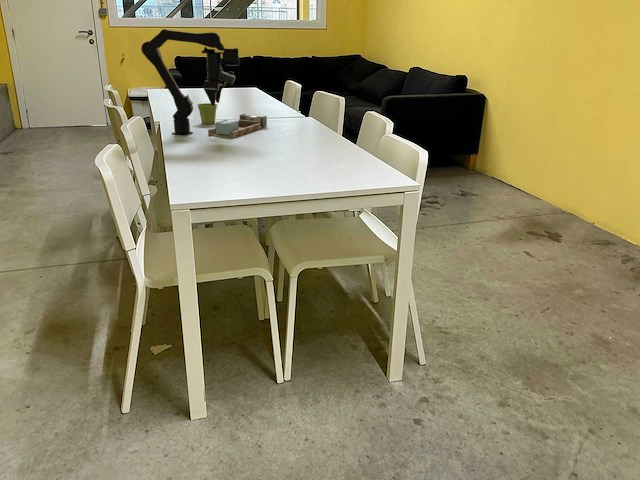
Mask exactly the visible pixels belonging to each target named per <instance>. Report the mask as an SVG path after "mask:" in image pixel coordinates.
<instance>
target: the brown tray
mask: <svg viewBox="0 0 640 480" xmlns="http://www.w3.org/2000/svg"><path fill="white" fill-rule="evenodd" d="M236 121H237V122H238V125H239V130H236V131H232V132H230V135H224V134H216V127H212V128H209V129H207V134H208V136H211V137H218V138H228V139H234V138H238V137H241V136H243V135H247V134H249V133H253V132H257V131H259V130H261V129H262V128H261V124H258V122H256V121H247V120H240V119H238V120H236Z"/></svg>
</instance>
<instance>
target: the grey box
mask: <svg viewBox="0 0 640 480" xmlns="http://www.w3.org/2000/svg"><path fill="white" fill-rule="evenodd" d="M237 121H238V120H228V119H222V120H220V121H215V123H214V124H215V128H216V134H224V135H230V132H232V131H236V130H239V125H238V122H237Z"/></svg>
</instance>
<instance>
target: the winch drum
mask: <svg viewBox="0 0 640 480" xmlns="http://www.w3.org/2000/svg"><path fill="white" fill-rule="evenodd" d="M267 118H268V117H267V115H263V116H259V115H257V116H256V115H247V114H245V113H241V114H239V120H247V121H256V122H258V124H261V129H265V128H267V127H268V126H267V124H268V123H267V121H268V119H267Z"/></svg>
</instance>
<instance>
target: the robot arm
mask: <svg viewBox="0 0 640 480" xmlns="http://www.w3.org/2000/svg"><path fill="white" fill-rule="evenodd" d="M167 41H174V42H175V41H176V42H184V43H193V44H199V45H201V46H204V48H203V50H202V51H201V54H206V67H205V71H206V72H207V77H206V80H204V81H202V82H203V83H202V89H203V90H204V93H205V94H206V96H207V97H208V100H209V103H211V105H212V106H215V104H217V103H218V104H219V103H220V100H221V95H222V91H223V89H224V87H226V85H227V83H228V85H231V86H232V85H234V83H235V80H236V77H237V76H236V75H235V73H234V71H232V70H231V71H229V72H227V71H226V72H225V71H224V67H222V63H223V64H225V66H229V67H230V66H234V67H236V66H238V67H239V66H240V55H239V48H238V47H233V48H227V47H225V45H224V44H223V43H222V42H221V37H220V35H219V33H217V32H213V31H211V32H210V31H209V32H198V33H197V32H188V31H178V30H171V29H166V28H164V29H162V30H161V31H160V32H158V33H157V34H156V36H154V37H153V38H152V39H150V40H148V41H145V42H143V43H142V44H141V49H140V50H141V53H142V54H143V56H145V58H146V59H147V60H148V61H149V62H150V63H151V64H152V65H153V66H154V67H155V69H156V71H157V73H158V74H159V76H160V78H161V79H162V81H163V83H164V85H165V86H166V88H167V90H168V92H169V93H170V94H171V96H172V98H173V102H174V104H175V107H176V111H175V113H174V114H173V115H172V118H173V126H174V127H173V129H174V132H171V135H176V136H177V135H178V136H187V135H191V134H193V133H194V132H193V131H191V127H190V125H191V124H190V123H191V122H190V118H189V117H190V116H191V114H192V112H193V111H194V106H193V104H194V102H193V101H192V100H191V99H190V96H189V94H186V95H184V94H183V93H182V91H181V89H180V87H179V86H178V84H177V82H176V80H175V79H174V77H173V76H172V74H171V72H170V70H169V69H168V67H167V65H166V63H165V62H164V59H163V56H162V53H161V50H160V48H161V47H162V46H163V45H164V44H165V43H166V42H167ZM207 47H208V48H207ZM216 49H217V50H218V51H216ZM222 51H223V52H222ZM221 55H222V56H221Z"/></svg>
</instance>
